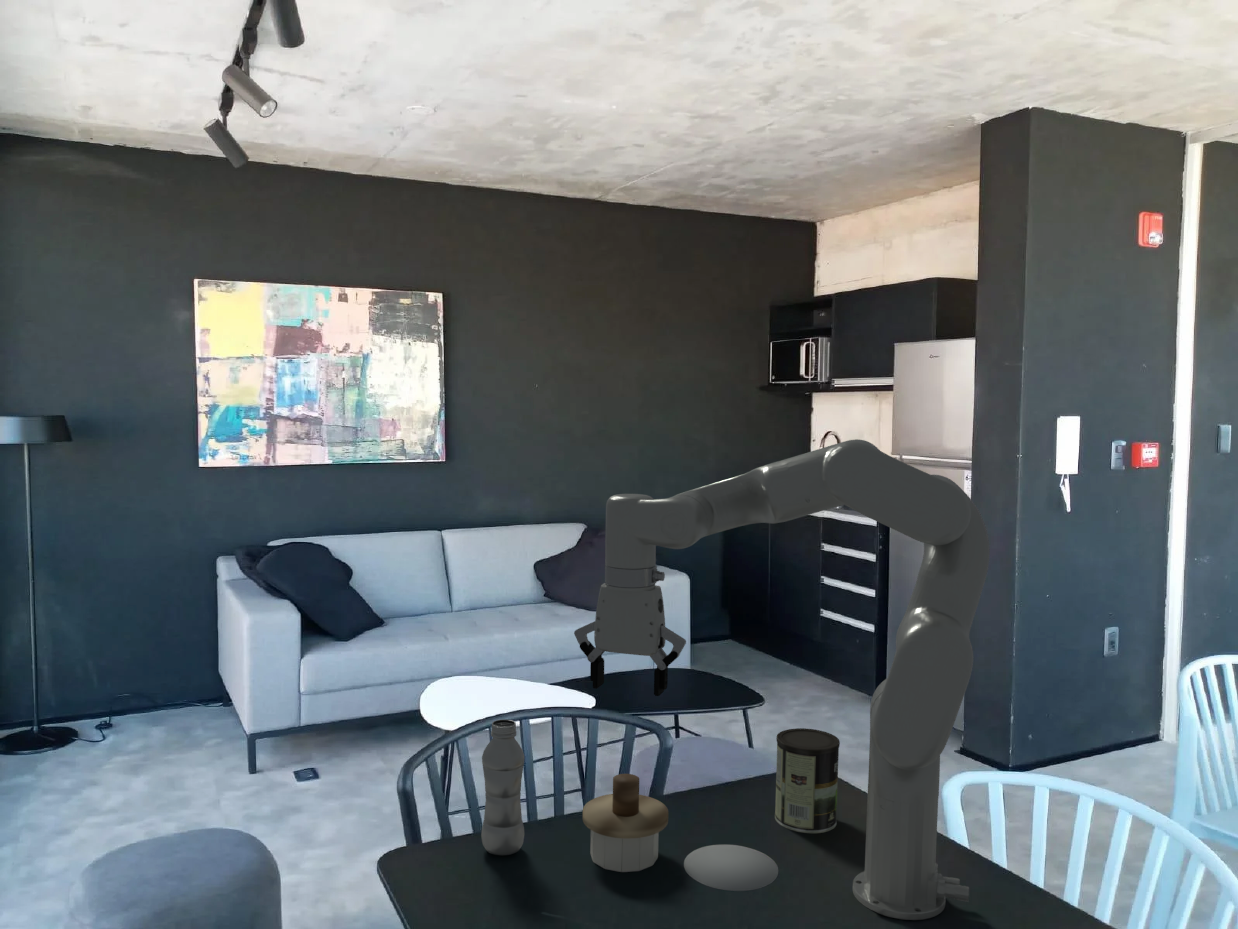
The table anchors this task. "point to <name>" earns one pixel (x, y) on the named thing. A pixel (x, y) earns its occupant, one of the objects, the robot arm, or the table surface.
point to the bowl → (624, 852)
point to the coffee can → (806, 780)
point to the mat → (731, 867)
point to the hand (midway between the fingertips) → (628, 689)
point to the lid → (625, 811)
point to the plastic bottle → (503, 790)
